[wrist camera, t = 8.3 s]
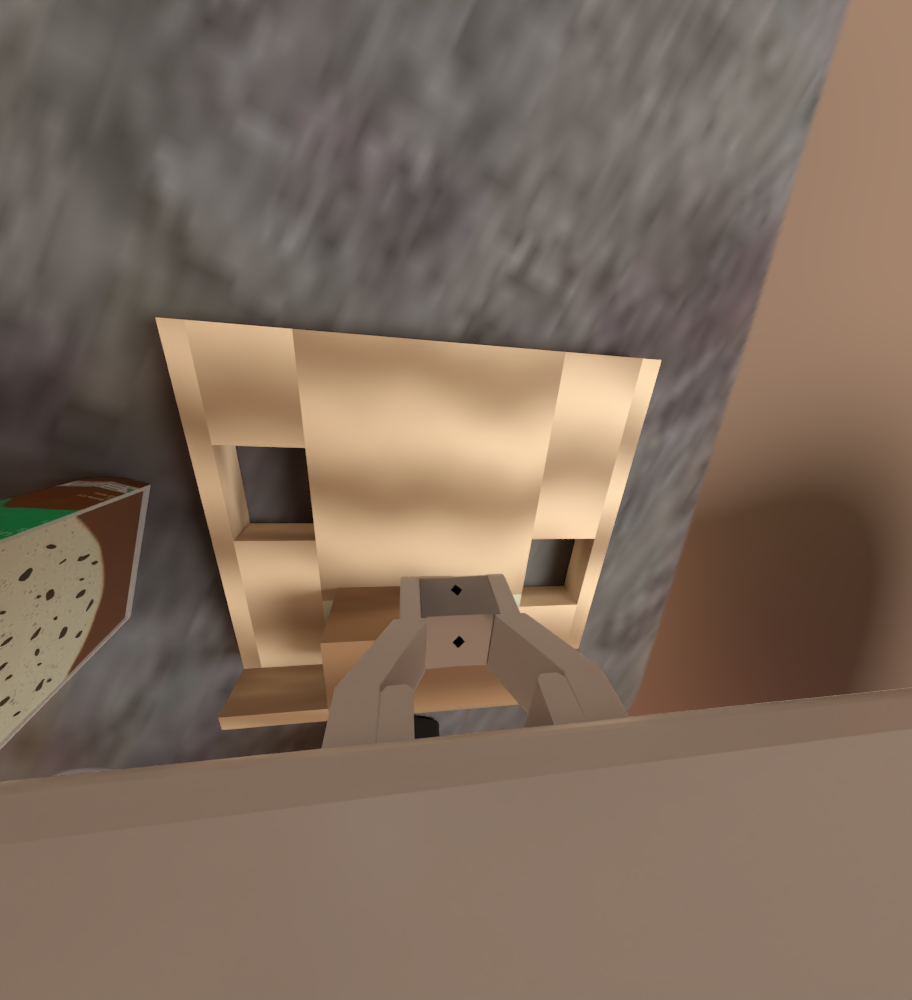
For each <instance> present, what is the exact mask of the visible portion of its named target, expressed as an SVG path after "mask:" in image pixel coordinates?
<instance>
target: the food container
mask: <svg viewBox="0 0 912 1000" xmlns="http://www.w3.org/2000/svg"><path fill="white" fill-rule="evenodd" d="M150 485H151V484H147V483H143V482H139V481H135V480H130V479H126V478H98V477H89V478H85V479H81V480H77V481H74V482H70V483H66V484H62V485H58V486H54V487H51V488H47V489H43V490H39V491H35V492H31V493H27V494H24V495H20V496H16V497H12V498H8V499H4V500H1V501H0V749H1V748H2V747H3V746H4V745H5V744H6V743H7V742H8V741H9V740H10V739H11V738H12V737H13V736H14V735H15V734H16V733H17V732H18V731H19V730H20V729H21V728H22V727H23V726H24V725H25V724H26V723H27V722H28V721H29V720H30V719H31V718H32V717H33V716H34V715H35V714H36V713H37V712H38V711H39V710H40V709H41V708H42V707H43V706H44V705H45V704H46V703H47V702H48V701H49V700H50V699H51V698H52V697H53V696H54V695H55V694H56V692H57V691H58V690H59V689H60V688H61V687H62V686H63V685H64V684H65V683H66V682H67V681H68V680H69V679H70V678H71V677H72V676H73V675H74V674H75V673H76V672H77V671H78V670H79V669H80V668H81V667H82V666H83V665H84V664H85V663H86V662H87V661H88V660H89V659H90V658H91V657H92V656H93V655H94V654H95V653H96V652H97V651H98V650H99V649H100V648H101V647H102V646H103V645H104V644H105V643H106V642H107V641H108V640H109V639H110V638H111V637H112V636H113V635H114V634H115V632H116V631H117V630H118V629H119V628H120V627H121V626H122V625H123V624H124V623H125V622H126V621H127V620H128V619H129V618H130V616H131V610H132V603H133V596H134V590H135V583H136V577H137V570H138V564H139V557H140V551H141V544H142V538H143V531H144V525H145V518H146V511H147V505H148V498H149V492H150Z"/></svg>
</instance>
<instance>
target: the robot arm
mask: <svg viewBox="0 0 912 1000" xmlns="http://www.w3.org/2000/svg"><path fill="white" fill-rule="evenodd" d="M472 665H487V667H488V668H489V669H490V671H491V672H492V673H493V674H494V675H495V677H496V678H497V679H498V680H499V681H500V682H501V684H502V685H503V686H504V687H505V688H506V689H507V691H508V692H509V693H510V694H511V695H512V696H513V698H514V699H515V700H516V701H517V702H518V704H519V705H520V706H521V707H522V708H523V709H524V711H525V712H526V713H527V714H528V717H527V720H526V724H525V728H518V729H508V730H498V731H489V732H479V733H469V734H459V735H449V736H440V737H430V738H420V739H415V737H414V701H413V693H414V691H415V690H416V688H417V686H418V684H419V682H420V680H421V678H422V676H423V675H424V673H425V669H433V668H443V667H453V666H472ZM0 1000H912V688H904V689H895V690H885V691H876V692H866V693H856V694H847V695H837V696H827V697H817V698H808V699H798V700H788V701H779V702H769V703H759V704H749V705H740V706H730V707H720V708H710V709H701V710H691V711H681V712H671V713H662V714H652V715H643V716H633V717H629V715H628V713H627V712H626V710H625V708H624V707H623V705H622V703H621V702H620V700H619V698H618V696H617V695H616V693H615V691H614V690H613V688H612V686H611V685H610V683H609V681H608V680H607V678H606V676H605V674H604V673H603V671H602V669H601V668H600V667H599V666H597V665H596V664H595V663H593V662H592V661H590V660H589V659H588V658H586V657H585V656H584V655H582V654H581V653H580V652H578V651H577V650H575V649H574V648H573V647H571V646H570V645H569V644H567V643H566V642H564V641H563V640H562V639H560V638H559V637H558V636H556V635H555V634H553V633H552V632H551V631H549V630H548V629H547V628H545V627H544V626H543V625H541V624H540V623H538V622H537V621H536V620H534V619H533V618H532V617H530V616H529V615H527V614H526V613H520V611H519V609H518V606H517V604H516V602H515V599H514V597H513V595H512V592H511V590H510V588H509V585H508V583H507V580H506V578H505V576H504V575H503V574H486V575H470V576H419V577H418V576H410V577H401V580H400V614H399V619H394V620H393V621H392V622H391V623H390V624H389V626H388V627H387V628H386V629H385V630H384V631H383V633H382V634H381V635H380V636H379V637H378V638H377V639H376V641H375V642H374V643H373V644H372V645H371V646H370V648H369V649H368V650H367V651H366V652H365V653H364V654H363V656H362V657H361V658H360V659H359V660H358V661H357V663H356V664H355V665H354V666H353V667H352V668H351V669H350V671H349V672H348V673H347V674H346V675H345V676H344V678H343V679H342V680H341V681H340V682H339V683H338V684H337V686H336V687H335V688H334V693H333V698H332V702H331V707H330V711H329V716H328V721H327V725H326V730H325V734H324V739H323V744H322V748H321V749H313V750H304V751H294V752H284V753H274V754H265V755H255V756H245V757H236V758H226V759H216V760H207V761H197V762H187V763H177V764H168V765H158V766H148V767H139V768H129V769H119V770H110V771H100V772H91V773H80V774H71V775H61V776H51V777H42V778H32V779H22V780H12V781H3V782H0Z"/></svg>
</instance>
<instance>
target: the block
mask: <svg viewBox="0 0 912 1000" xmlns="http://www.w3.org/2000/svg"><path fill="white" fill-rule="evenodd" d="M399 614H400V586H385V587H347V588H337V591H336V594H335V597H334V600H333V604H332V607H331V610H330V613H329V616H328V620H327V623H326V626H325V629H324V633H323V636H322V639H321V642H320V646H321V654H322V662H323V671H324V679H325V687H326V696H327V704H328V712H329V711H330V707H331V702H332V698H333V693H334V688H335V687H336V686H337V684H338V683H339V682H340V681H341V680H342V679H343V678H344V676H345V675H346V674H347V673H348V672H349V671H350V669H351V668H352V667H353V666H354V665H355V664H356V663H357V661H358V660H359V659H360V658H361V657H362V656H363V654H364V653H365V652H366V651H367V650H368V649H369V648H370V646H371V645H372V644H373V643H374V642H375V641H376V639H377V638H378V637H379V636H380V635H381V634H382V633H383V631H384V630H385V629H386V628H387V627H388V626H389V624H390V623H391V622H392V621H393V620H394V619H399ZM511 700H514V698H513V696H512V695H511V694H510V693H509V692H508V691H507V689H506V688H505V687H504V686H503V685H502V684H501V682H500V681H499V680H498V679H497V678H496V677H495V675H494V674H493V673H492V672H491V671H490V669H489V668H488V667H487V665H472V666H453V667H443V668H433V669H425V673H424V675H423V676H422V678H421V680H420V682H419V684H418V686H417V688H416V690H415V691H414V693H413V701H414V708H426V707H438V706H450V705H462V704H474V703H487V702H499V701H511Z"/></svg>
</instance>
